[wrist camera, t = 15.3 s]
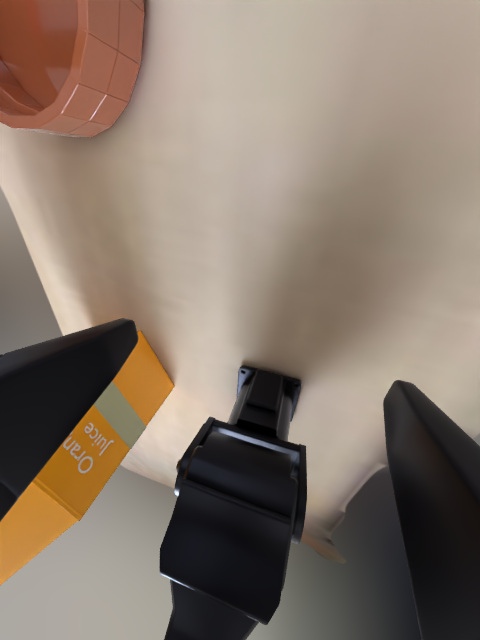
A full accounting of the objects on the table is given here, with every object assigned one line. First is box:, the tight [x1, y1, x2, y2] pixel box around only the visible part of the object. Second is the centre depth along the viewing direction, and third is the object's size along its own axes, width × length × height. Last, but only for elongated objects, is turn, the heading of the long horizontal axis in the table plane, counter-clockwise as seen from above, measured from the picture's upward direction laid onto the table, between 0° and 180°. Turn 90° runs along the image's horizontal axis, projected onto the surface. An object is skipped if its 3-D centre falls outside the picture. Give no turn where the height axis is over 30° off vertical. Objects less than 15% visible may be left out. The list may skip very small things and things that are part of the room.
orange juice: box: [0, 331, 174, 585], centre depth 22 cm, size 8×9×20 cm
